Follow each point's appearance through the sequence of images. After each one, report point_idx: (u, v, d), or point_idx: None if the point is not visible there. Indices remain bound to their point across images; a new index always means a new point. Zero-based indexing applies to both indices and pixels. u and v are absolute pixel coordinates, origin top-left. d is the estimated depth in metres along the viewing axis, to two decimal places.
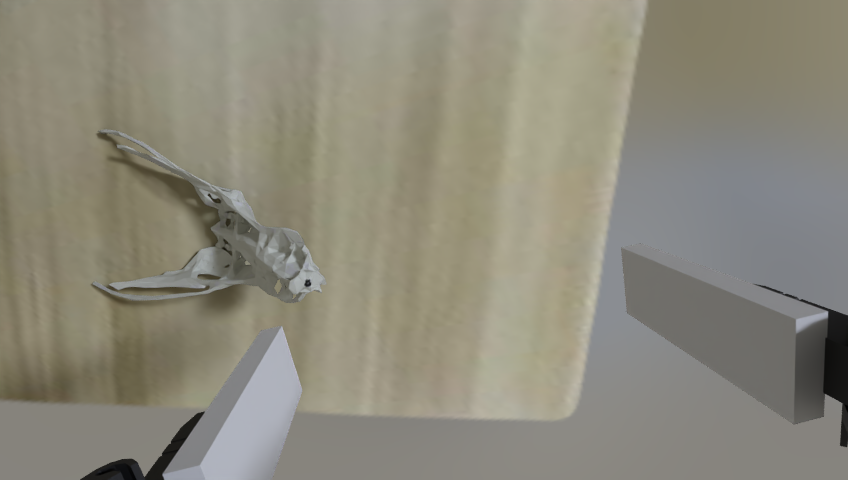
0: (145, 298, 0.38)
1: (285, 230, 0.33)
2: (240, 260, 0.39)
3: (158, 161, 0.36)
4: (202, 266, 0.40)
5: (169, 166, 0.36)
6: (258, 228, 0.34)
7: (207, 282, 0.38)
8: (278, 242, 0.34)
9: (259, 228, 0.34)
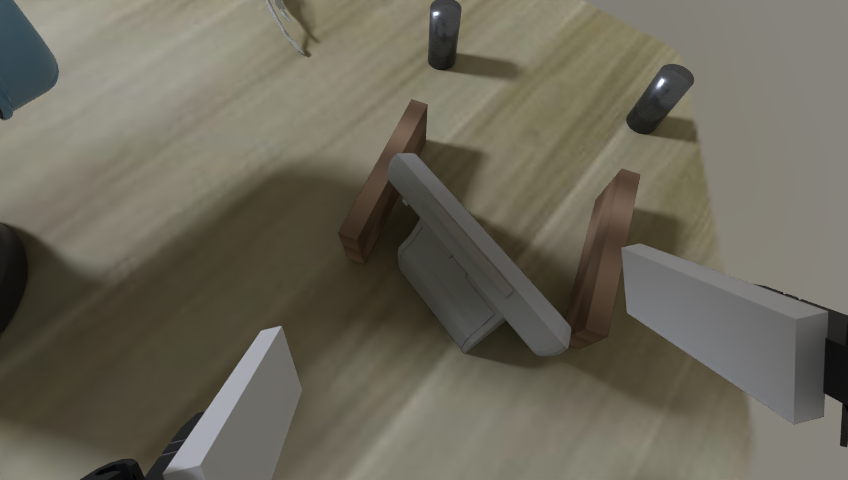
0: None
1: None
2: None
3: None
4: None
5: None
6: None
7: None
8: None
9: None
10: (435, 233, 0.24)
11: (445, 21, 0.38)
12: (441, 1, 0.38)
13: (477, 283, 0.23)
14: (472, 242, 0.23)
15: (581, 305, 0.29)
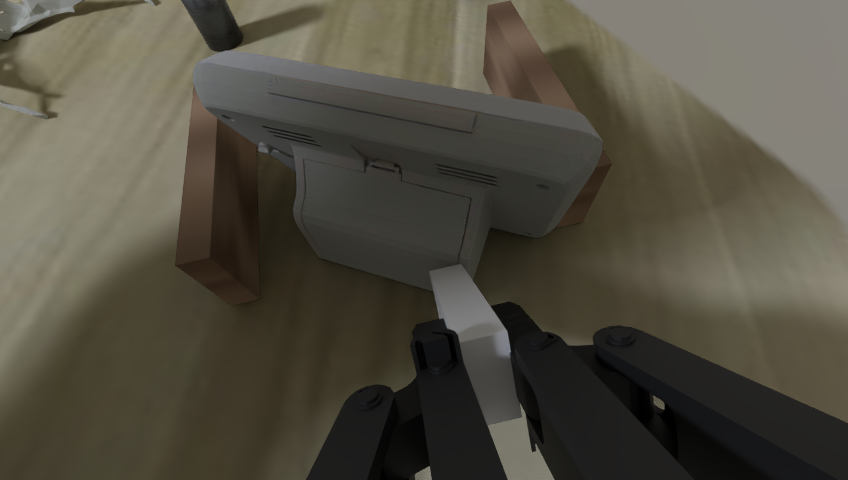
0: None
1: None
2: None
3: None
4: (28, 13, 0.37)
5: None
6: None
7: None
8: None
9: None
10: (315, 125, 0.14)
11: None
12: None
13: (419, 147, 0.13)
14: (374, 95, 0.14)
15: None
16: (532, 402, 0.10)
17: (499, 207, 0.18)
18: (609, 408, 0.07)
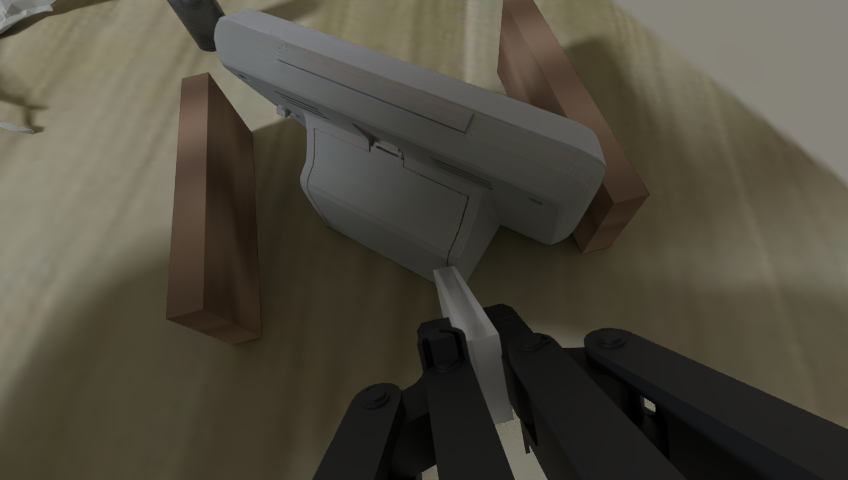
0: None
1: None
2: None
3: None
4: (3, 14, 0.34)
5: None
6: None
7: None
8: None
9: None
10: (317, 99, 0.14)
11: None
12: None
13: (412, 139, 0.13)
14: (376, 77, 0.13)
15: None
16: (526, 404, 0.10)
17: (502, 209, 0.17)
18: (602, 409, 0.07)
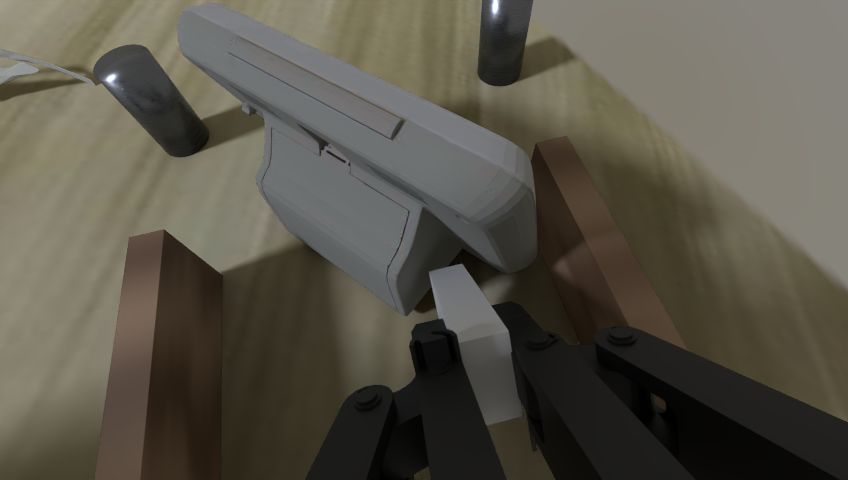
0: None
1: None
2: None
3: None
4: None
5: None
6: None
7: None
8: None
9: None
10: (261, 94, 0.14)
11: (131, 81, 0.21)
12: (109, 56, 0.22)
13: (343, 141, 0.12)
14: (315, 76, 0.13)
15: None
16: (533, 402, 0.10)
17: (450, 229, 0.16)
18: (610, 408, 0.07)
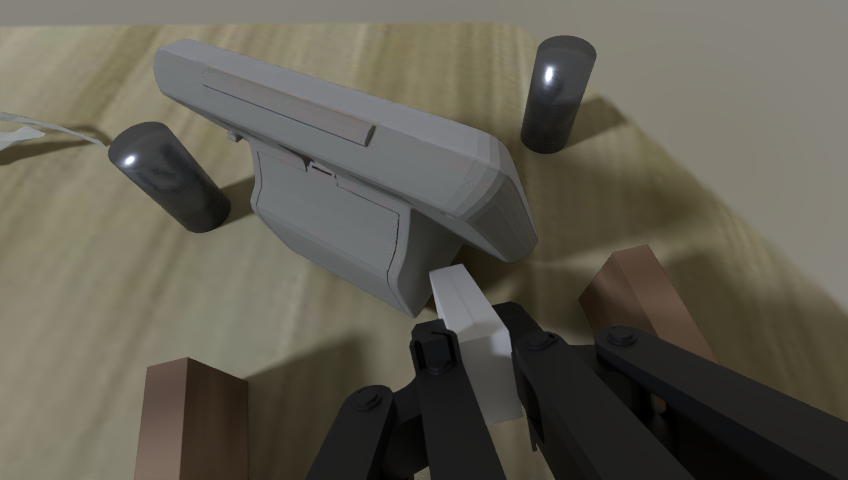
0: None
1: None
2: None
3: None
4: None
5: None
6: None
7: None
8: None
9: None
10: (238, 121, 0.14)
11: (149, 166, 0.19)
12: (126, 135, 0.20)
13: (321, 155, 0.12)
14: (286, 95, 0.13)
15: None
16: (533, 402, 0.10)
17: (443, 226, 0.16)
18: (610, 408, 0.07)
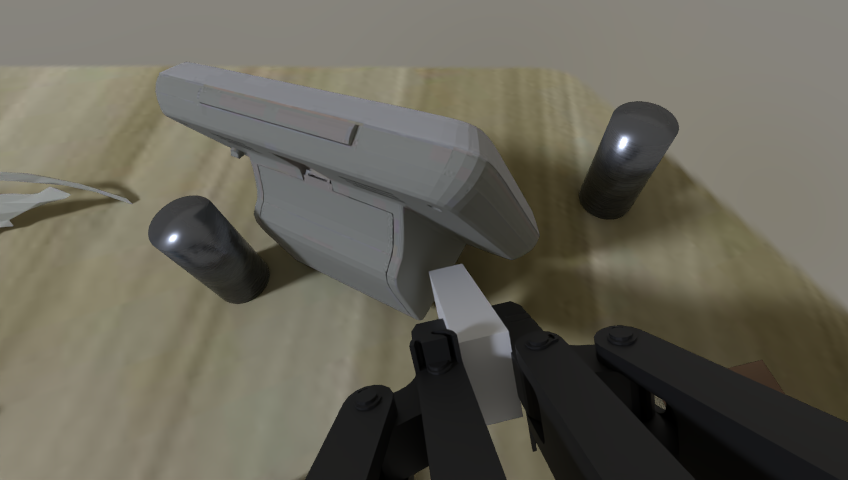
0: None
1: None
2: None
3: None
4: None
5: None
6: None
7: None
8: None
9: None
10: (233, 133, 0.15)
11: (193, 248, 0.17)
12: (167, 212, 0.18)
13: (310, 159, 0.13)
14: (275, 104, 0.13)
15: None
16: (533, 402, 0.10)
17: (440, 224, 0.16)
18: (610, 408, 0.07)
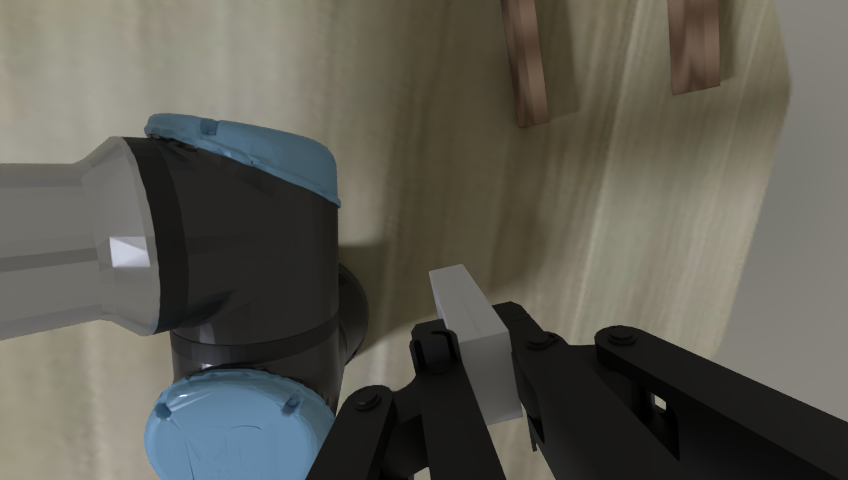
0: None
1: None
2: None
3: None
4: None
5: None
6: None
7: None
8: None
9: None
10: None
11: None
12: None
13: None
14: None
15: (691, 69, 0.42)
16: (533, 402, 0.10)
17: None
18: (610, 408, 0.07)
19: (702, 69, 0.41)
